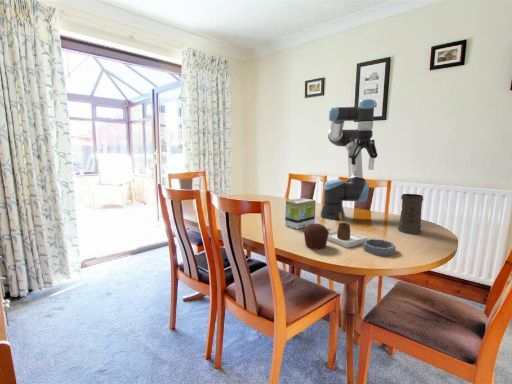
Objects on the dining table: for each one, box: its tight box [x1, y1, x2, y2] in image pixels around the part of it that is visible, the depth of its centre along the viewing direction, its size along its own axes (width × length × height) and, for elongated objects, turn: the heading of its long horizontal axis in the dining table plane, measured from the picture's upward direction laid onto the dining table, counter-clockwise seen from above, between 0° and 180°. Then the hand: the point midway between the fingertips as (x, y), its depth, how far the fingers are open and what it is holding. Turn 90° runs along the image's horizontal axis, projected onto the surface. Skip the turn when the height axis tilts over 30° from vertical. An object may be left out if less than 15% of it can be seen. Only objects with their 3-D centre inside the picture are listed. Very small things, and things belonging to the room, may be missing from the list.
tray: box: [327, 229, 368, 249], centre depth 133 cm, size 16×14×2 cm
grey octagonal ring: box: [362, 238, 396, 257], centre depth 120 cm, size 12×12×3 cm
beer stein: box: [397, 193, 424, 235], centre depth 148 cm, size 15×11×20 cm
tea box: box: [284, 197, 317, 230], centre depth 157 cm, size 15×10×15 cm, turn 131°
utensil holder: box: [336, 213, 351, 240], centre depth 132 cm, size 6×6×12 cm
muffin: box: [302, 223, 329, 250], centre depth 124 cm, size 12×11×10 cm
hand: (362, 170), depth 150 cm, fingers open, 13 cm apart
